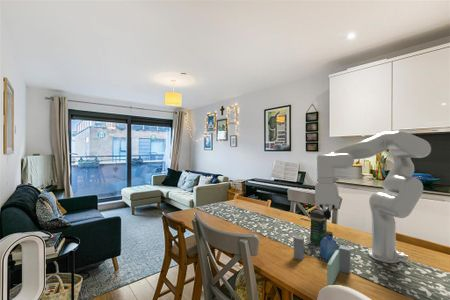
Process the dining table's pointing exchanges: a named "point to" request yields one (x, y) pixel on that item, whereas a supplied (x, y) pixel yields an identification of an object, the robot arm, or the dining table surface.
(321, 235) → the coffee jar
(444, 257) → the dining table surface
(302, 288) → the dining table surface
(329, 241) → the perfume bottle
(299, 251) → the door frame
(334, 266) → the door
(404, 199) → the robot arm
